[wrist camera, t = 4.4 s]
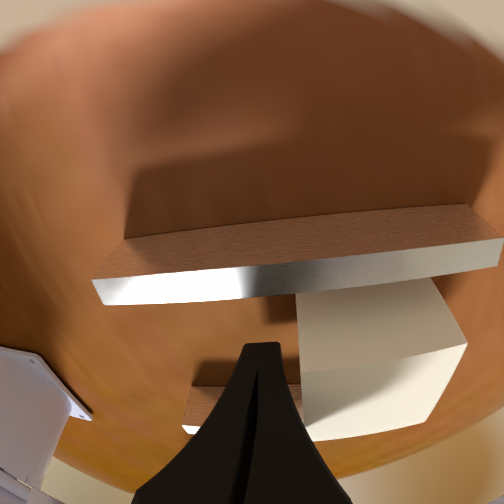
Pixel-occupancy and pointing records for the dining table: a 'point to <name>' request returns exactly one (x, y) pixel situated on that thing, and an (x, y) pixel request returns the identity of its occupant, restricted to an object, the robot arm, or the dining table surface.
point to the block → (374, 356)
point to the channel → (294, 263)
